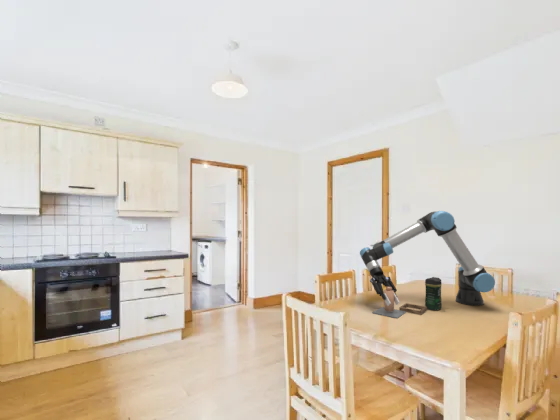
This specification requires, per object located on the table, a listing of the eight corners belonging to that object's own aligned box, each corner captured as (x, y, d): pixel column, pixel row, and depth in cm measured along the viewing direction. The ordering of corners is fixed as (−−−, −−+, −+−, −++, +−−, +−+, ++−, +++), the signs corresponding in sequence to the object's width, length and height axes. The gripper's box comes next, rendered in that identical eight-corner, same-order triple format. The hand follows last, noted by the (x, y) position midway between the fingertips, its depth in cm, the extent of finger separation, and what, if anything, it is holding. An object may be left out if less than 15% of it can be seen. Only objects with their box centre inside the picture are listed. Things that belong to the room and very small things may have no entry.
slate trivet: (405, 312, 174) (405, 311, 174) (397, 318, 163) (397, 317, 163) (382, 307, 183) (382, 306, 183) (372, 313, 172) (372, 312, 172)
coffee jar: (437, 311, 175) (436, 279, 176) (423, 308, 181) (422, 277, 182) (443, 308, 182) (443, 277, 182) (430, 305, 188) (429, 275, 188)
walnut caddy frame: (427, 310, 178) (427, 306, 178) (421, 315, 169) (421, 311, 169) (406, 306, 186) (406, 303, 186) (399, 310, 177) (399, 307, 177)
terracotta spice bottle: (395, 309, 173) (395, 286, 174) (392, 311, 169) (391, 288, 170) (386, 308, 177) (386, 285, 177) (382, 310, 173) (382, 287, 173)
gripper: (384, 272, 191) (403, 305, 175) (359, 274, 185) (377, 309, 169) (390, 265, 186) (410, 299, 170) (364, 266, 180) (383, 301, 164)
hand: (393, 303), depth 170 cm, fingers open, 5 cm apart
